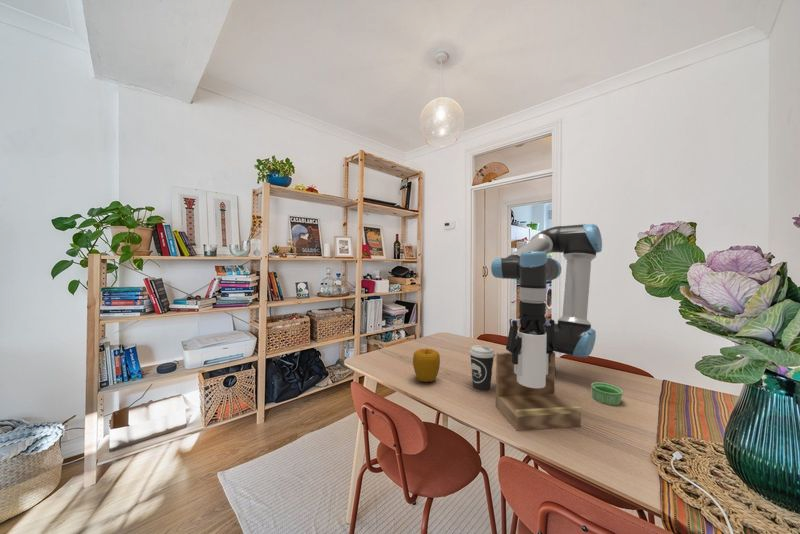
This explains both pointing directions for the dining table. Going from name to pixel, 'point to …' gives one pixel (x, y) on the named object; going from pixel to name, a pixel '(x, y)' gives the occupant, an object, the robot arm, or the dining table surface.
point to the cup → (533, 360)
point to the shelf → (531, 399)
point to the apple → (426, 364)
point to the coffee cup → (481, 366)
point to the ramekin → (606, 393)
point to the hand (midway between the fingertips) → (530, 373)
